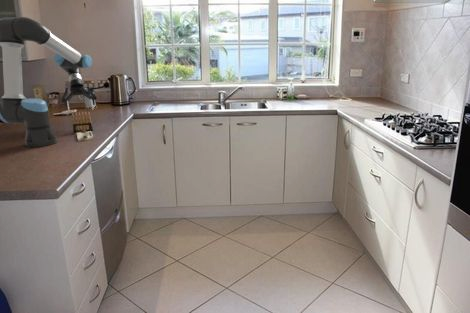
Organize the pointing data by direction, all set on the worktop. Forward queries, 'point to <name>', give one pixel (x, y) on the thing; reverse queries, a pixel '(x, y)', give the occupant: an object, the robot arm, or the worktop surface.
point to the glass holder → (88, 100)
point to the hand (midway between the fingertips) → (81, 109)
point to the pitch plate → (84, 135)
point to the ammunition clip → (81, 122)
